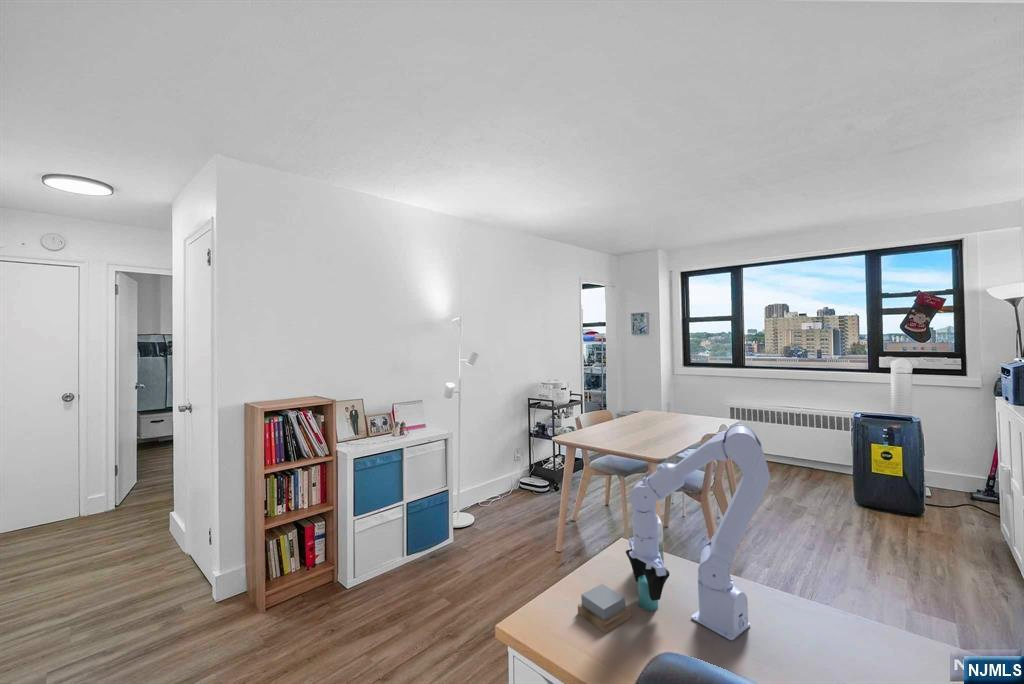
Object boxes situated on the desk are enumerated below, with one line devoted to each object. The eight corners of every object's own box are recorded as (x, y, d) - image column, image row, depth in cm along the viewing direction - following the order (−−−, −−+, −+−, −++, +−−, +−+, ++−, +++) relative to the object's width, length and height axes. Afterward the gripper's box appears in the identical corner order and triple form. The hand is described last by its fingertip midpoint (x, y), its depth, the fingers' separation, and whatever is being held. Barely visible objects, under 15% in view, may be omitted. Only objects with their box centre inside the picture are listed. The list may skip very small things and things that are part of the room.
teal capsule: (662, 605, 102) (661, 580, 102) (650, 613, 100) (649, 587, 100) (646, 597, 106) (645, 573, 106) (635, 604, 103) (634, 579, 103)
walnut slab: (631, 619, 99) (630, 609, 99) (605, 636, 94) (604, 624, 94) (603, 601, 106) (602, 591, 106) (578, 616, 101) (577, 605, 101)
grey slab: (625, 608, 99) (624, 597, 99) (604, 620, 95) (603, 609, 95) (602, 593, 105) (602, 583, 105) (581, 605, 101) (581, 594, 101)
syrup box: (659, 564, 120) (657, 513, 120) (664, 576, 114) (662, 522, 114) (638, 564, 121) (636, 513, 121) (642, 576, 115) (640, 522, 115)
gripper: (617, 522, 109) (619, 575, 109) (644, 550, 95) (646, 611, 95) (643, 519, 110) (644, 571, 111) (673, 546, 96) (675, 606, 96)
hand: (647, 589), depth 103 cm, fingers open, 7 cm apart
